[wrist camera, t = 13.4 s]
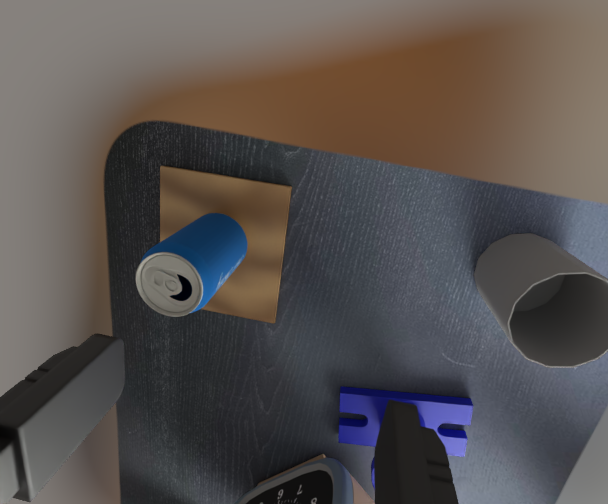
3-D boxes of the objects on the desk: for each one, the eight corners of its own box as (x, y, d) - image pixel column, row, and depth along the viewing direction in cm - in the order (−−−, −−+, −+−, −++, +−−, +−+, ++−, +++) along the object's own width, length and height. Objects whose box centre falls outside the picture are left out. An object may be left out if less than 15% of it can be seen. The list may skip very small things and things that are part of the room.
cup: (520, 323, 41) (566, 385, 31) (457, 281, 40) (484, 331, 31) (583, 262, 38) (655, 311, 28) (515, 216, 37) (566, 250, 28)
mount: (470, 398, 45) (494, 461, 36) (461, 448, 47) (482, 518, 39) (340, 386, 47) (335, 443, 39) (339, 434, 49) (333, 498, 41)
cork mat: (162, 165, 41) (159, 166, 40) (292, 186, 39) (291, 187, 39) (162, 299, 46) (159, 301, 46) (275, 321, 45) (274, 323, 44)
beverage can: (237, 277, 43) (193, 333, 32) (185, 252, 43) (122, 300, 32) (258, 227, 41) (218, 269, 30) (202, 201, 41) (141, 233, 30)
